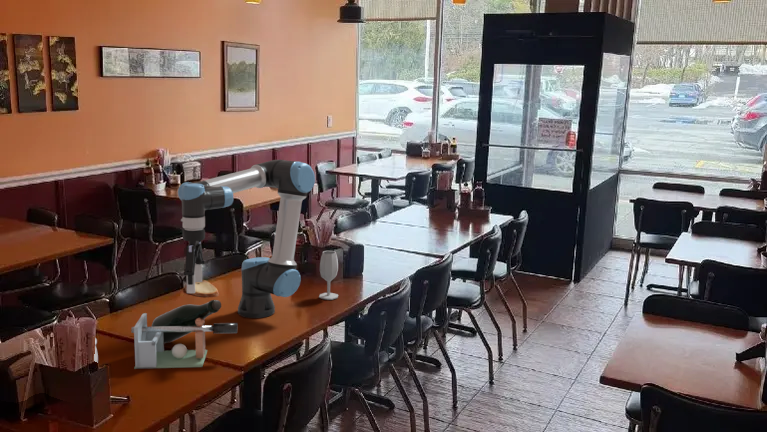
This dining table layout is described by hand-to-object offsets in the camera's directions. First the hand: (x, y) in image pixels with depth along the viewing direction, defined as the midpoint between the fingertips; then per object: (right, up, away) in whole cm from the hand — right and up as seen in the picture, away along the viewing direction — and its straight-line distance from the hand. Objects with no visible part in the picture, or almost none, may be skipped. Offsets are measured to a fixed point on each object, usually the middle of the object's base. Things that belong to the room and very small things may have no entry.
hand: (194, 287), depth 241 cm
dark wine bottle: (-14, -17, +9) cm, 24 cm away
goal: (-13, -24, -7) cm, 28 cm away
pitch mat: (-6, -24, -6) cm, 26 cm away
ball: (-4, -21, -6) cm, 22 cm away
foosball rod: (-2, -23, -5) cm, 24 cm away
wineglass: (+42, -12, +67) cm, 80 cm away
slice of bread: (-16, -10, +71) cm, 74 cm away
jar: (-27, -28, -28) cm, 49 cm away
